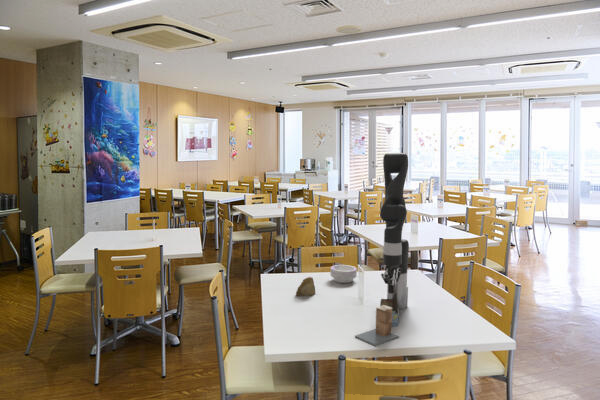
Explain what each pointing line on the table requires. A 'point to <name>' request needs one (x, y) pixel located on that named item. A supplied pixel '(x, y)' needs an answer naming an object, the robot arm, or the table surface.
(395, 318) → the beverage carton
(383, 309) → the walnut block
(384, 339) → the slate mat
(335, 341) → the table surface
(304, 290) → the rock
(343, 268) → the paper bowls
